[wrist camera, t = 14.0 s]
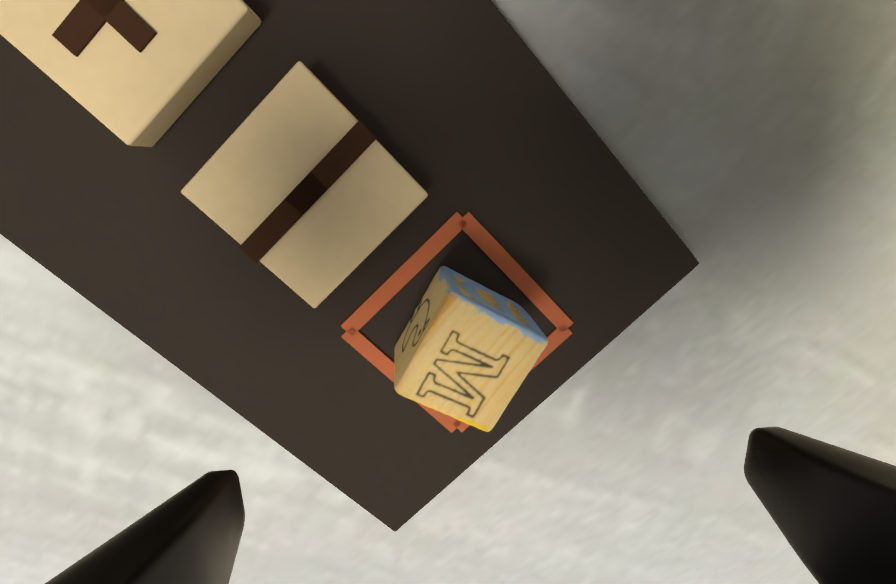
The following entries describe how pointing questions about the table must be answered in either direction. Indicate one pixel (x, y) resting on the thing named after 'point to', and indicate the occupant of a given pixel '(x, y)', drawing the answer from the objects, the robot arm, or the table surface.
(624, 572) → the table surface
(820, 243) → the table surface
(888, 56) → the table surface
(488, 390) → the alphabet block
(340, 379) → the word mat
